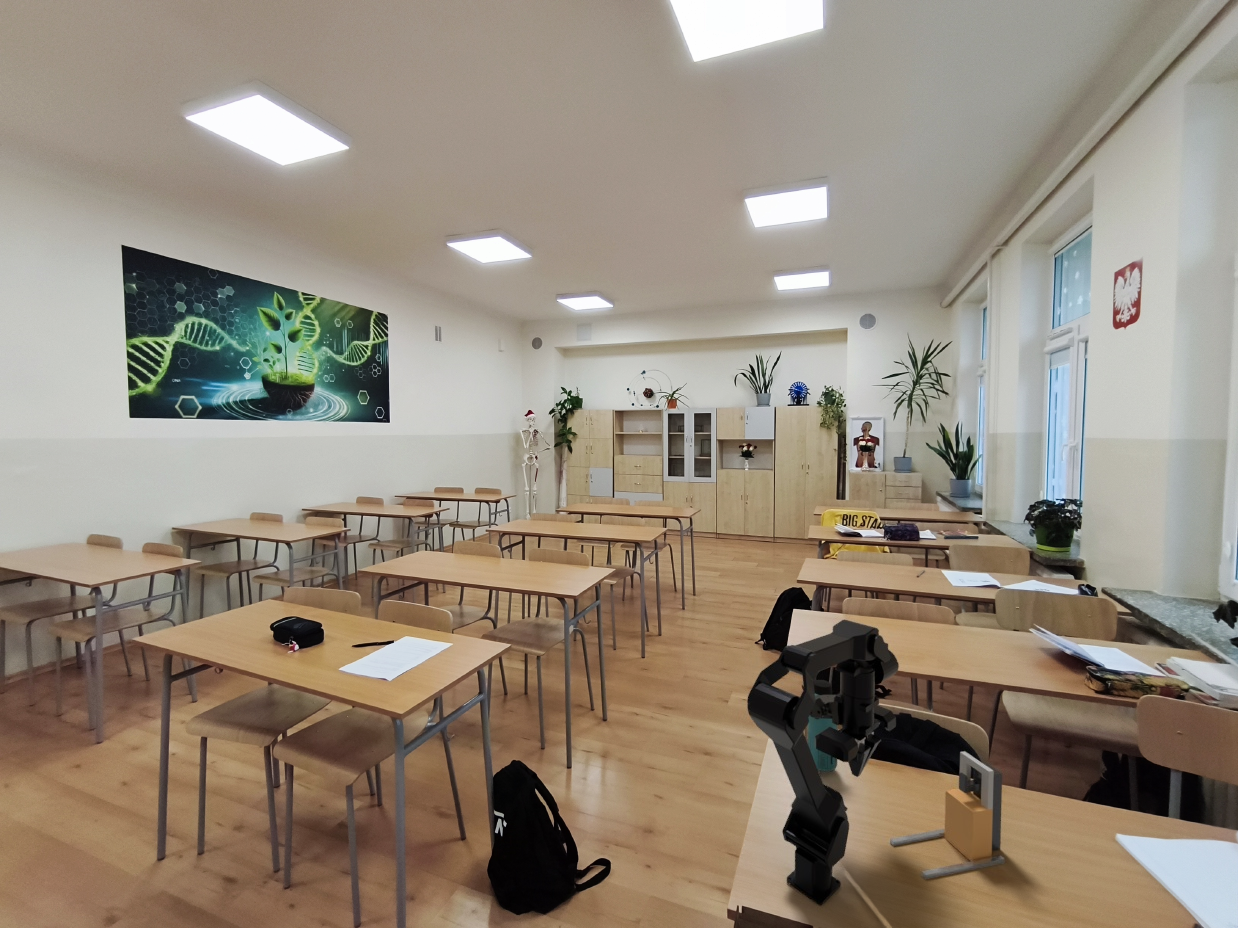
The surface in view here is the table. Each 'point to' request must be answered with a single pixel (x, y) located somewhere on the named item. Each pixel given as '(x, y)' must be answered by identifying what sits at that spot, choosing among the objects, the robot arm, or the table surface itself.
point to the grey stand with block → (964, 787)
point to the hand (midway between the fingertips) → (856, 775)
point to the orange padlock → (971, 813)
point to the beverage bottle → (819, 725)
